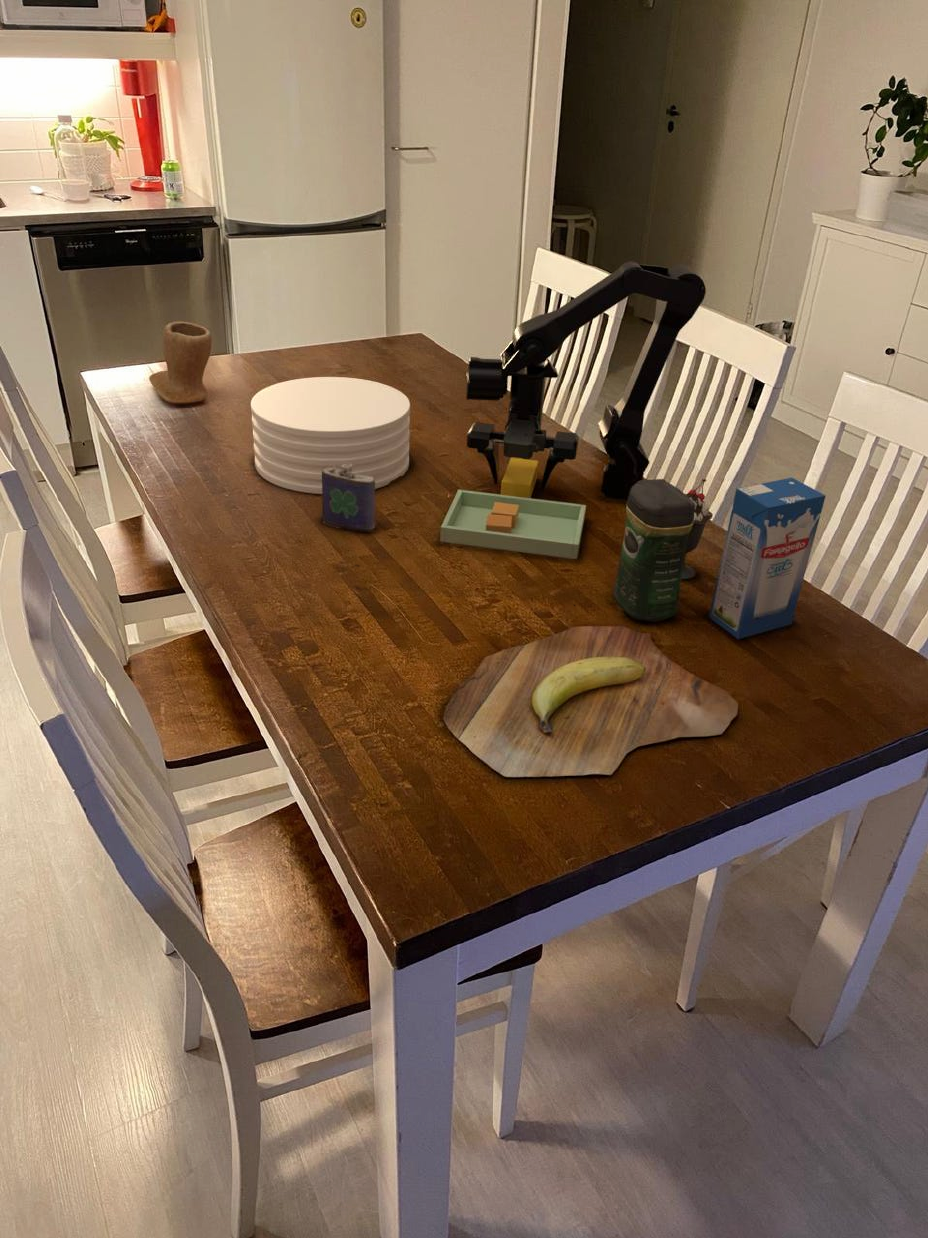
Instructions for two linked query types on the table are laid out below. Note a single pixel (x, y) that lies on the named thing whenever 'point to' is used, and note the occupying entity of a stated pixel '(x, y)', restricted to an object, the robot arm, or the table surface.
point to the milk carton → (765, 556)
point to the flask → (348, 499)
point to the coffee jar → (653, 550)
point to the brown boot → (183, 363)
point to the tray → (535, 530)
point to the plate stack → (329, 431)
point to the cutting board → (581, 703)
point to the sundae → (696, 527)
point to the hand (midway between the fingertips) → (519, 486)
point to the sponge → (519, 478)
